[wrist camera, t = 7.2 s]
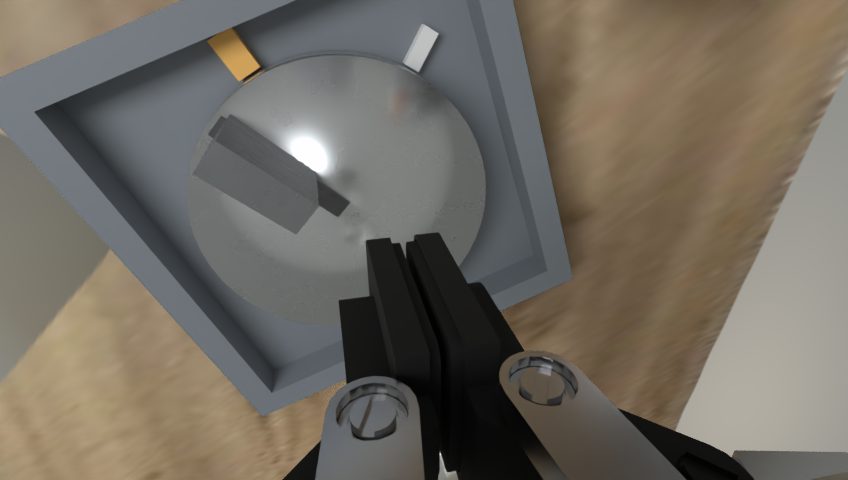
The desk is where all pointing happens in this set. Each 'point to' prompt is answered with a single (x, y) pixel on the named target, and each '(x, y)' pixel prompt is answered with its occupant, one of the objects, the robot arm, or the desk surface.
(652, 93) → the desk surface
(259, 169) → the dial
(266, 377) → the square tray
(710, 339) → the desk surface
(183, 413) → the desk surface
